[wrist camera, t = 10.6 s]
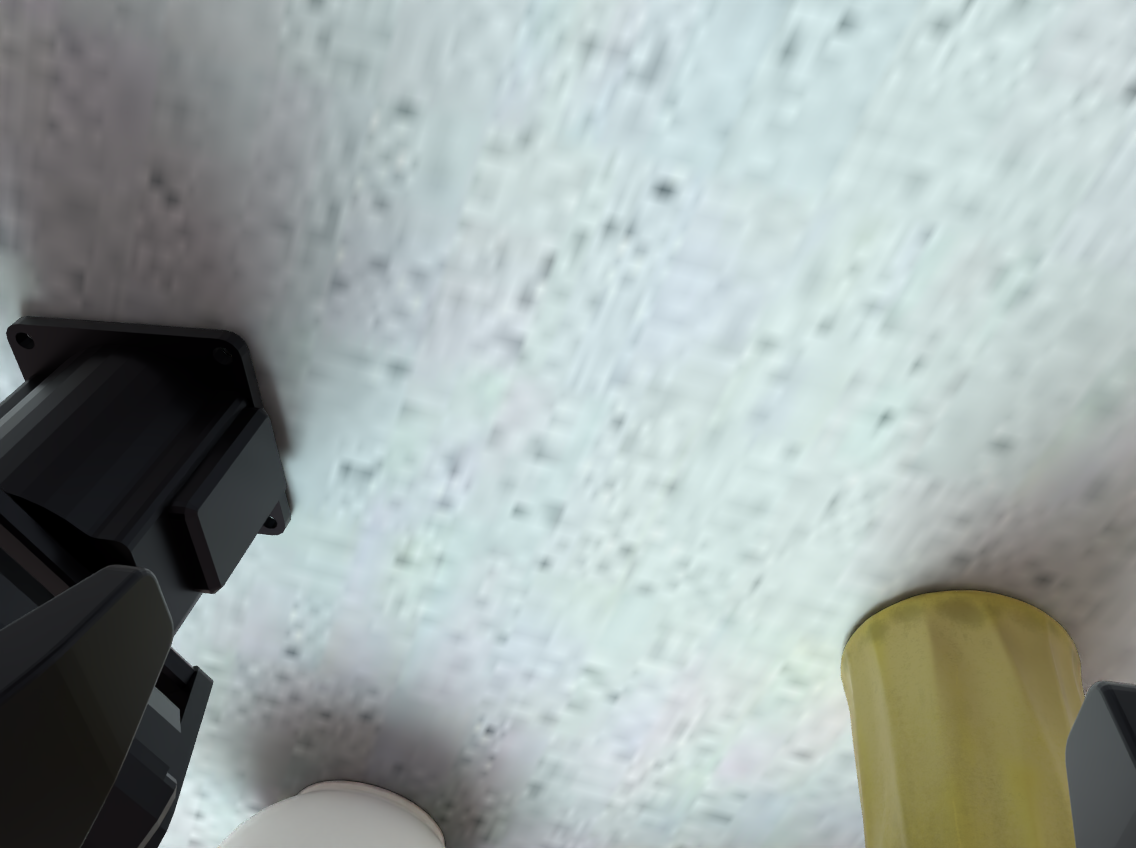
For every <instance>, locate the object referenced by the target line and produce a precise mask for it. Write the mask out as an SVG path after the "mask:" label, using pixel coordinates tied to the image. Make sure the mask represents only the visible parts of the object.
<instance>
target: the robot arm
mask: <svg viewBox="0 0 1136 848" xmlns="http://www.w3.org/2000/svg"><path fill="white" fill-rule="evenodd" d="M6 334H7V339H8V342H9V344H10V346H11V349H12V351H13V353H14V356H15V358H16V360H17V363H18V365H19V368H20V370H21V372H22V375H23V377H24V379H25V382H24V383H23V384H22V385H21V386H20V387H19V388H17V389H16V390H15V391H14V392H13V393H12V394H11V395H9V396H8V397H7V398H6V399H5V400H4V401H2V402H1V403H0V848H158V846H159V844H160V842H161V841H162V839H163V837H164V835H165V833H166V832H167V829H168V827H169V824H170V822H171V819H172V817H173V814H174V811H175V808H176V805H177V801H178V798H179V795H180V791H181V788H182V785H183V781H184V778H185V775H186V771H187V768H188V765H189V762H190V758H191V755H192V752H193V748H194V745H195V742H196V738H197V735H198V732H199V728H200V725H201V722H202V719H203V715H204V712H205V709H206V705H207V702H208V699H209V695H210V692H211V689H212V685H213V680H212V679H211V678H210V677H209V676H208V675H207V674H205V673H204V672H203V671H202V670H201V669H200V668H199V667H198V666H193V667H192V666H191V665H190V664H189V663H188V662H187V661H186V660H185V659H184V658H183V657H182V656H180V655H179V654H178V653H177V652H176V651H175V650H174V649H173V648H172V647H171V644H172V640H173V637H174V635H175V634H176V632H177V631H178V629H179V628H180V626H181V625H182V623H183V622H184V620H185V619H186V617H187V616H188V614H189V613H190V611H191V610H192V608H193V607H194V605H195V604H196V602H197V601H198V599H199V598H200V596H201V595H202V593H210V594H215V593H216V592H217V591H218V590H220V589H221V588H222V587H223V586H224V585H225V583H226V581H227V580H228V578H229V577H230V575H231V574H232V572H233V571H234V569H235V567H236V566H237V564H238V563H239V561H240V560H241V558H242V557H243V555H244V554H245V552H246V550H247V549H248V547H249V546H250V544H251V543H252V541H253V540H254V538H255V536H256V535H257V534H266V535H279V534H281V533H283V531H284V530H285V528H286V527H287V525H288V523H289V522H290V520H291V513H290V509H289V505H288V501H287V497H286V493H285V490H286V487H287V484H286V480H285V477H284V473H283V469H282V465H281V461H280V457H279V453H278V449H277V445H276V441H275V437H274V433H273V429H272V425H271V421H270V418H269V416H268V414H267V413H266V411H265V410H264V407H263V403H262V400H261V396H260V392H259V388H258V384H257V380H256V376H255V372H254V368H253V364H252V360H251V357H250V353H249V349H248V347H247V345H246V342H245V341H244V340H243V339H242V338H241V337H240V336H238V335H237V334H235V333H233V332H229V331H225V330H211V329H197V328H183V327H169V326H156V325H142V324H128V323H114V322H100V321H86V320H73V319H59V318H45V317H31V316H26V317H21V318H20V319H19V320H17V321H16V322H15V323H13V324H12V325H11V326H10V327H8V329H7V332H6ZM27 334H28V335H29V336H30V337H31V338H32V339H33V340H32V339H31V338H30V337H28V335H27ZM221 347H222V348H225V349H227V350H228V351H229V352H230V353H231V355H232V356H229V355H227V354H226V353H224V352H223V351H222V349H221ZM269 516H271V517H273V518H274V519H273V518H271V517H269ZM1065 763H1066V772H1067V780H1068V788H1069V796H1070V804H1071V812H1072V820H1073V828H1074V837H1075V845H1076V848H1136V685H1135V684H1127V683H1119V682H1110V681H1098V682H1096V683H1095V684H1093V685H1092V686H1091V688H1090V689H1089V691H1088V693H1087V695H1086V697H1085V699H1084V702H1083V704H1082V706H1081V708H1080V711H1079V713H1078V715H1077V717H1076V719H1075V722H1074V724H1073V726H1072V728H1071V731H1070V733H1069V735H1068V738H1067V743H1066V750H1065Z"/></svg>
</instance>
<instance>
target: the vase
mask: <svg viewBox="0 0 1136 848" xmlns="http://www.w3.org/2000/svg"><path fill="white" fill-rule="evenodd" d="M841 679H842V682H843V687H844V691H845V694H846V698H847V701H848V705H849V710H850V717H851V726H852V736H853V745H854V754H855V762H856V769H857V777H858V785H859V793H860V801H861V808H862V815H863V824H864V835H865V846H866V848H1076V845H1075V837H1074V828H1073V820H1072V812H1071V804H1070V796H1069V788H1068V780H1067V772H1066V763H1065V750H1066V743H1067V738H1068V735H1069V733H1070V731H1071V728H1072V726H1073V724H1074V722H1075V719H1076V717H1077V715H1078V713H1079V711H1080V708H1081V706H1082V704H1083V702H1084V699H1085V697H1084V693H1083V687H1082V680H1081V663H1080V658H1079V655H1078V652H1077V649H1076V647H1075V644H1074V642H1073V641H1072V639H1071V637H1070V636H1069V635H1068V633H1067V632H1066V630H1065V629H1064V628H1063V627H1062V626H1061V625H1060V624H1059V623H1058V622H1057V621H1055V620H1054V619H1053V618H1052V617H1050V616H1049V615H1047V614H1046V613H1045V612H1043V611H1042V610H1040V609H1038V608H1036V607H1034V606H1032V605H1030V604H1028V603H1025V602H1023V601H1020V600H1017V599H1014V598H1011V597H1008V596H1004V595H1000V594H996V593H991V592H985V591H977V590H950V591H939V592H931V593H925V594H921V595H917V596H913V597H911V598H908V599H905V600H902V601H900V602H898V603H895V604H893V605H891V606H889V607H887V608H885V609H883V610H881V611H879V612H877V613H876V614H874V615H873V616H871V617H870V618H868V619H867V620H866V621H865V622H864V623H863V624H862V625H861V626H860V627H859V628H858V629H857V630H856V631H855V632H854V634H853V635H852V636H851V637H850V639H849V641H848V643H847V644H846V646H845V648H844V652H843V655H842V659H841Z"/></svg>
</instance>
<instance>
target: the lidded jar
mask: <svg viewBox="0 0 1136 848" xmlns="http://www.w3.org/2000/svg"><path fill="white" fill-rule="evenodd" d="M217 848H446V847H445V840H444V836H443V834H442V831H441V829H440V828H439V826H438V825H437V823H436V822H435V821H434V820H433V819H432V818H431V817H430V816H429V815H428V813H426V812H425V811H424V810H423V809H421V808H420V807H419V806H417V805H416V804H414V803H413V802H411V801H410V800H408V799H406V798H404V797H402V796H400V795H398V794H396V793H394V792H391V791H389V790H386V789H384V788H380V787H377V786H374V785H370V784H366V783H361V782H354V781H341V780H335V781H324V782H320V783H315V784H313V785H310V786H308V787H306V788H305V789H303V790H302V791H301V792H300V793H299V794H298V795H296V796H293V797H290V798H287V799H285V800H282V801H279V802H277V803H275V804H273V805H271V806H268V807H266V808H264V809H263V810H261V811H260V812H258V813H257V814H255V815H254V816H252V817H251V818H249V819H248V820H246V821H245V822H243V823H242V824H240V825H239V826H238V827H237V828H236V829H235V830H234V831H233V832H232V833H231V834H229V835H228V836H227V837H226V838H225V839H224V840H223V841H222V842H221V844H220V845H219V846H218V847H217Z"/></svg>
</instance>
